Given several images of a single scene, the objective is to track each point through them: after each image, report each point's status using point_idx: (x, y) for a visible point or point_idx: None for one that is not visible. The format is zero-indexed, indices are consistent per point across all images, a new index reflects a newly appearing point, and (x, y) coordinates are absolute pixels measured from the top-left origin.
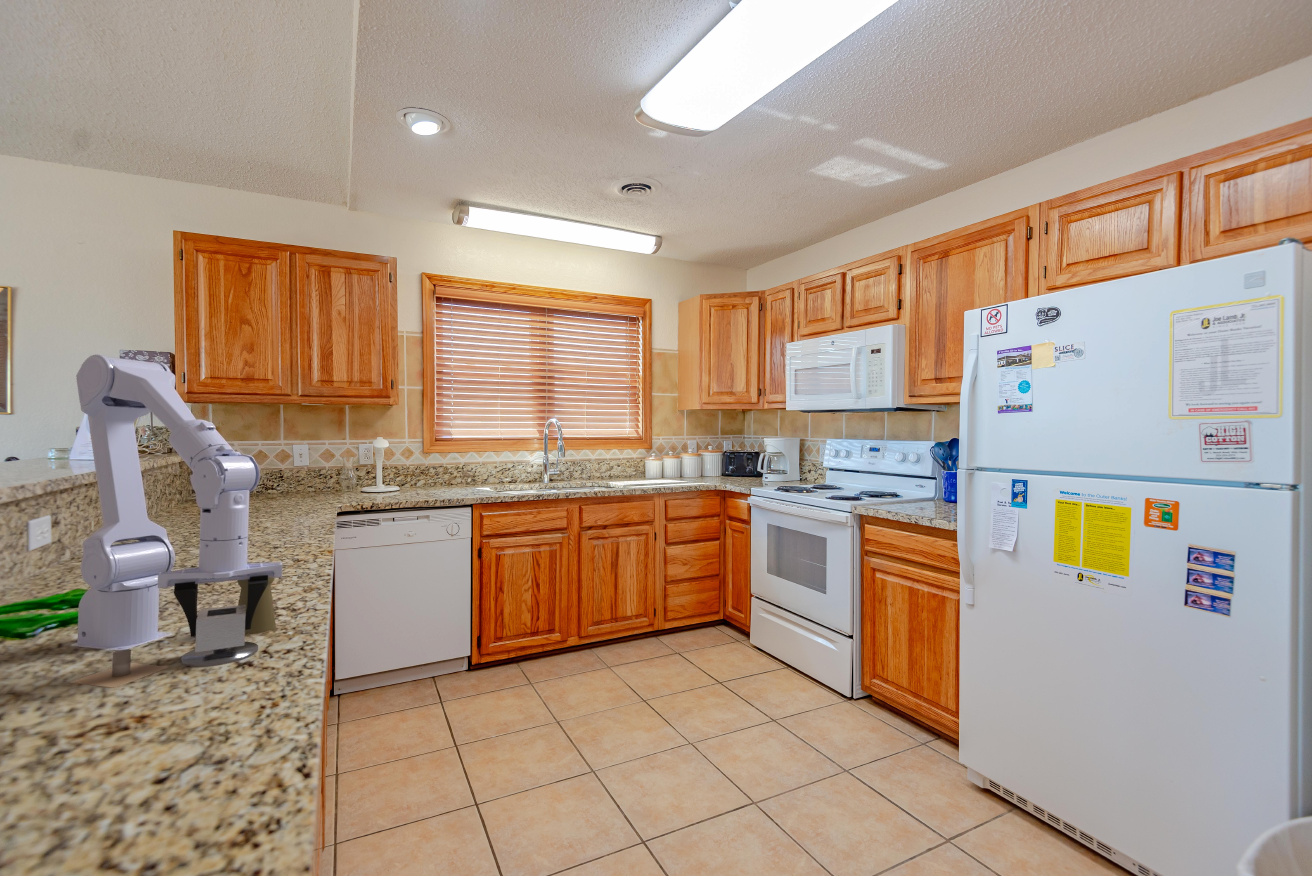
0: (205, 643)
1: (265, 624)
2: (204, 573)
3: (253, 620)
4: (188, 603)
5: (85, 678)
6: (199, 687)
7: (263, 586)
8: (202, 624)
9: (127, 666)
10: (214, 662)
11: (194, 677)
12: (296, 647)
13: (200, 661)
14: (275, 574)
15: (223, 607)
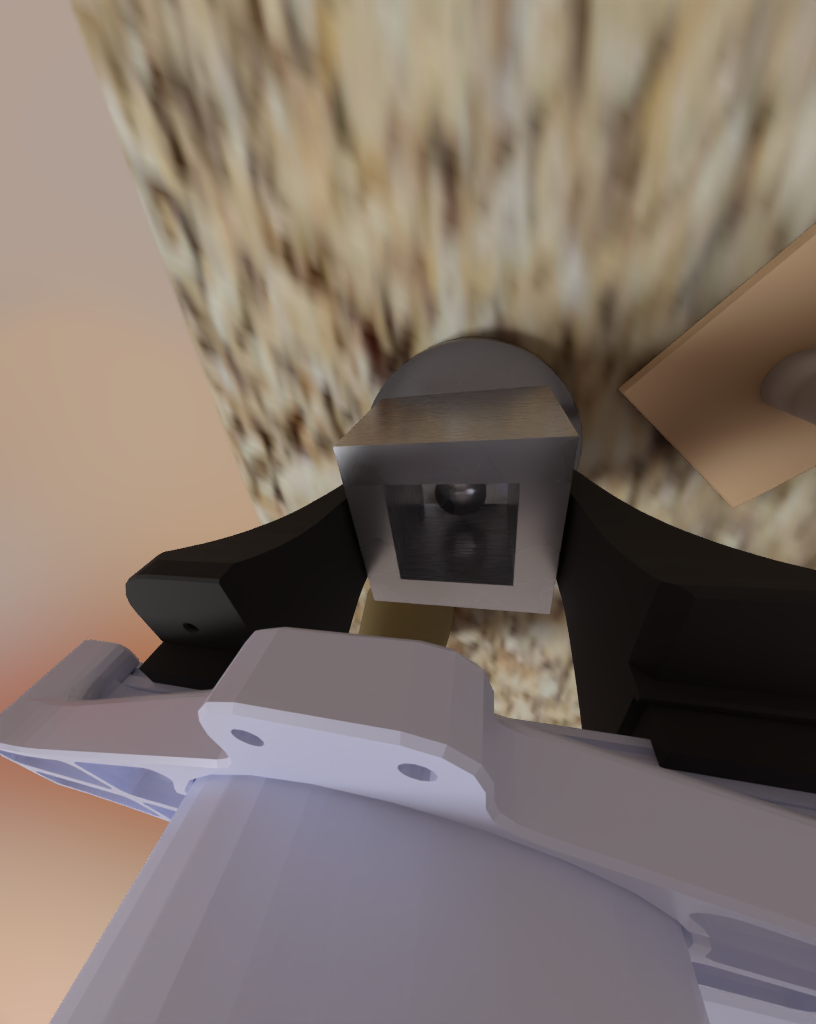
0: (513, 396)
1: (376, 603)
2: (647, 864)
3: (398, 615)
4: (663, 542)
5: None
6: (526, 71)
7: (160, 557)
8: (538, 426)
9: (807, 368)
10: (477, 340)
11: (542, 267)
12: (284, 457)
13: (524, 376)
14: (91, 662)
15: (453, 600)
